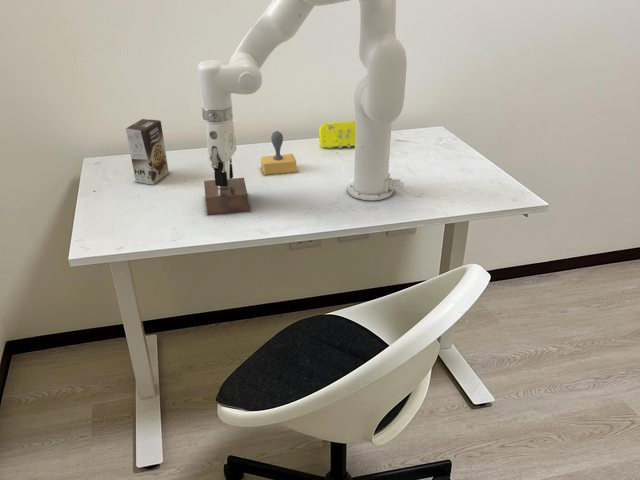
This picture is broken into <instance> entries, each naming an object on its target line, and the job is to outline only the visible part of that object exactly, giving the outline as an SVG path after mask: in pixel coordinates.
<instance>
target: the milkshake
mask: <svg viewBox="0 0 640 480" xmlns="http://www.w3.org/2000/svg"><path fill="white" fill-rule="evenodd" d="M218 160H221V159H220V158H218ZM218 164H219V165H221V167H222V163H218ZM230 164H231V163H230V159H229V161H228V162H225V171H226V172H227V182H228V185H227V186H218V188H219V189H228V188H230Z"/></svg>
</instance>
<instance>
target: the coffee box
mask: <svg viewBox="0 0 640 480" xmlns="http://www.w3.org/2000/svg"><path fill="white" fill-rule="evenodd" d="M125 133H126V137H127V142H128V148H129V153H130V159H131V164H132V169H133V176H134V181H135V183H139V184H147V185H155V184H156V183H158V182H159V181H160V180H162V179H164V177H166V176H167V175H169V174H170V171H169V165H168V158H167V152H166V146H165V138H164V134H163V133H164V132H163V125H162V121H161V120H159V119H147V118H142V119H139V120H138V121H136V122H135V123H133V124H131V125H129V126H128V127H125Z"/></svg>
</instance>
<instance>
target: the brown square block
mask: <svg viewBox="0 0 640 480" xmlns="http://www.w3.org/2000/svg"><path fill="white" fill-rule="evenodd" d="M203 183H204V184H203V185H204V198H205V205H206V212H207V213H206V214H207V216H211V215H222V214H224V215H225V214H234V213H246V212H250V207H249V205H250V204H249V194H248V190H247V185H246V181H245V178H244V177H235V178H234V177H233V178H232V179H230V188H228V189H219V188H218V186H216V184H215V179H210V180H208V179H207V180H203Z"/></svg>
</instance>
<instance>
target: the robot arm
mask: <svg viewBox="0 0 640 480" xmlns="http://www.w3.org/2000/svg"><path fill="white" fill-rule="evenodd" d="M348 1H350V0H271V1H270V3H269V4H268V6H267V7H266V9H265V10H264V11H263V13H262V15H260V16H259V18H258V19H257V21H256V22H255V23H254V24H253V25H252V26H251V28H250V29H249V30H248V32H247V33H246V34H245V35H244V37H243V39H242V40H241V42H240V43H239V45H238V46H237V47H236V48H235V50H234V52H233V54H232V55H231V57H230V59H229V61H228V63H227V62H226V61H225V60H223V59H216V58H214V59H213V58H211V59H205V60H202V61H200V62H199V63H198V65H197V68H196V69H197V71H196V72H197V79H198V81H197V82H198V88H199V97H200V106H201V113H202V121H203V122H204V123H205V133H206V134H205V135H206V147H207V148H206V149H207V156H208V160H209V161H210V162H211V168H212V169H213V175H214V180H215V184H216V186H227V185H228V182H227V172H226V171H225V162H228V161H229V159H230V179H233V178H234V172H233V171H234V169H233V159H232V157H233V155H235V153H236V151H237V142H236V134H235V128H234V127H235V126H234V122H233V119H234V112H233V101H232V94H235V95H243V96H244V95H252V94H254V93H256V92H258V91H259V90H260V88H261V87H262V84H263V74H262V72H261V68H262V66H263V65H264V63H265V62H266V61H267V59H268V57H270V55H271V54H272V52H273V51H275V49H276V48H277V47H278V46H280V45H281V44H283V43H285V42H288V41H289V40H291V39H292V38H293V37H295V35H296V34H297V32H298V31H299V30H300V28H301V27H302V25H303V23H305V21H306V19H307V18H308V16H309V15H310V14H311V12H312V10H313V9H314V8H315V7H320V6H328V5H333V4H334V5H335V4H339V3H343V2H344V3H345V2H348ZM358 1H359V11H360V14H359V15H360V21H359V22H360V23H359V25H360V26H359V28H360V29H359V44H358V45H359V47H358V57H359V59H360V62H361V64H362V65H363V66H364V68H366V71H367V72H366V75H364V76H363V77H361V78H360V80H359V81H358V82H357V84H356V86H355V89H354V94H353V95H354V96H353V103H354V104H353V105H354V116H355V117H354V119H355V121H356V128H355V146H354V166H353V167H354V169H353V170H354V171H353V181H352V182H351V183H350V184H349V185H348V187H347V188H348V189H347V190H348V194H349V195H351V196H352V197H354V198H356V199H358V200H363V201H380V200H384V199H388V198H389V197H390V196H392V194H393V193H394V189H397V190H404V187H405V181H401V179H400V178H399V179H398V178H393V177H391V173H390V172H389V171H390V153H391V139H392V123H394V122H395V121H396V120H397V119H398V118H399V116H400V115H401V113H402V111H403V108H404V103H405V93H406V81H407V80H406V79H407V67H408V65H407V64H408V63H407V60H408V59H407V54H406V50H405V47H404V45H403V44H402V43H401V41H400V40H399V39H398V38H397V37H396V23H397V22H396V21H397V1H396V0H358ZM355 121H354V122H355ZM218 158H220V159H221V160H218ZM218 163H222V167H221V165H219V164H218Z"/></svg>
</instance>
